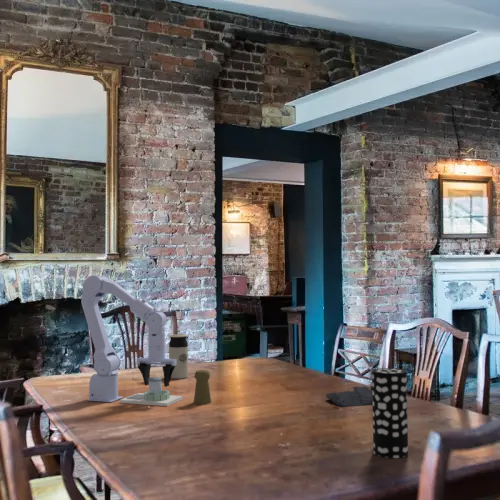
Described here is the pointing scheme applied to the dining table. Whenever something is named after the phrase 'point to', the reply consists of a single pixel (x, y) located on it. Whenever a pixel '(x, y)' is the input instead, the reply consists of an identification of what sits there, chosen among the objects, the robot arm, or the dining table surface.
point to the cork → (202, 387)
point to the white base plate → (152, 399)
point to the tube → (155, 385)
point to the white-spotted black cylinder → (390, 412)
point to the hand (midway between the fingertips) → (156, 385)
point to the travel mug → (179, 355)
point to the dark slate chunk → (352, 397)
